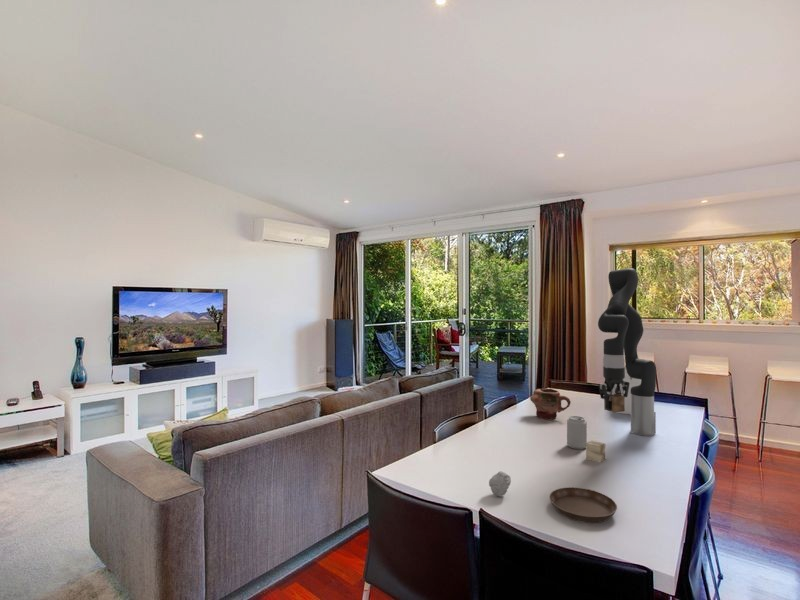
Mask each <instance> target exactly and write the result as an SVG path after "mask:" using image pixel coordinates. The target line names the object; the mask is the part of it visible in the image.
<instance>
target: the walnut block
mask: <svg viewBox="0 0 800 600" xmlns="http://www.w3.org/2000/svg"><path fill="white" fill-rule="evenodd" d="M608 397H609V395H608ZM611 401H612V410H607V409H606V407H605V406H606V404H605V399H603V403H604V404H603V406H604V410H605V411H608V412H610V413H611V412H612V413H613V414H614V413H617V412H623V411H625V401H624V396H623V395H619V394H616V393H614V395H613V396H612V400H611Z"/></svg>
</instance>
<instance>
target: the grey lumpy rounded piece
mask: <svg viewBox="0 0 800 600" xmlns="http://www.w3.org/2000/svg"><path fill="white" fill-rule="evenodd" d="M511 482H512V480H511V476H510V475H509V474H507V472H504V471H501V470H500V471H498V472H497V473H495V474H494V475H492V477H491V478H489V480H488V486H489V487H490V490H491V493H492V494H493V495H495V496H496V497H503V496H505V495H506V494H507V492H508V489H509V487H510V485H511Z"/></svg>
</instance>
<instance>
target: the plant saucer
mask: <svg viewBox="0 0 800 600" xmlns="http://www.w3.org/2000/svg"><path fill="white" fill-rule="evenodd" d="M549 501H550V502H551V504H552V506H553V507H554V508H555V509H556V511H558V512H559V513H560V515H562V516H565V517H567V518H569V519H571V520H573V521H577V522H582V523H589V524H590V523H591V524H595V523H597V524H598V523H603V522H605V521H608V520H609V519H610V518H612V517H613V515H615V513H616V512H617V510H618V505H617V503H616V502H615V501H614V499H612V498H611V497H609V496H608V495H606V494H604V493H602V492H599V491H596V490H593V489H587V488H583V487H574V486H573V487H571V486H570V487H569V486H568V487H561V488H557V489H555V490H552V492H551V493H550V494H549Z"/></svg>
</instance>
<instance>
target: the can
mask: <svg viewBox="0 0 800 600" xmlns="http://www.w3.org/2000/svg"><path fill="white" fill-rule="evenodd" d="M585 418H586V417H583V416H580V415H570V416H568V419H567V420H566V444H567V445H568V447H569V448H571V449H573V450H575V449H576V450H584V449H586V443H587V442H588V440H587V439H588V438H587V437H588V436H587V435H588V433H587V431H588V430H587V429H588V426H587V425H588V423H587V421H586V419H585Z"/></svg>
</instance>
